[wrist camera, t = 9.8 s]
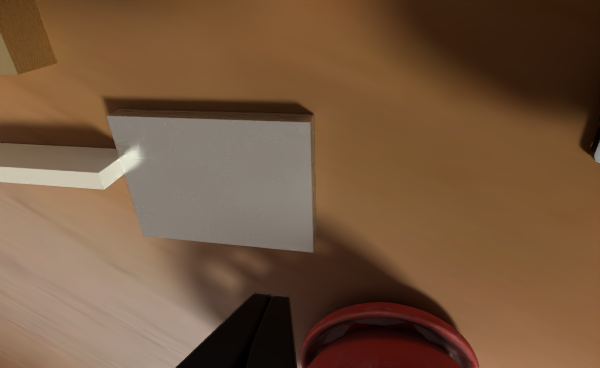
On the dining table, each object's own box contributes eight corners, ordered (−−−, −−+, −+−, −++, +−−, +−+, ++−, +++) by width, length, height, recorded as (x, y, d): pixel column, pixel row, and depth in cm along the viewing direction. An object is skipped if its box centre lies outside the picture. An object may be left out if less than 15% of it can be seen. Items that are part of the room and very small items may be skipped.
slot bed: (303, -472, 10) (294, -520, 9) (316, 239, 23) (313, 252, 22) (-21, -386, 12) (-58, -418, 11) (153, 225, 25) (143, 235, 24)
